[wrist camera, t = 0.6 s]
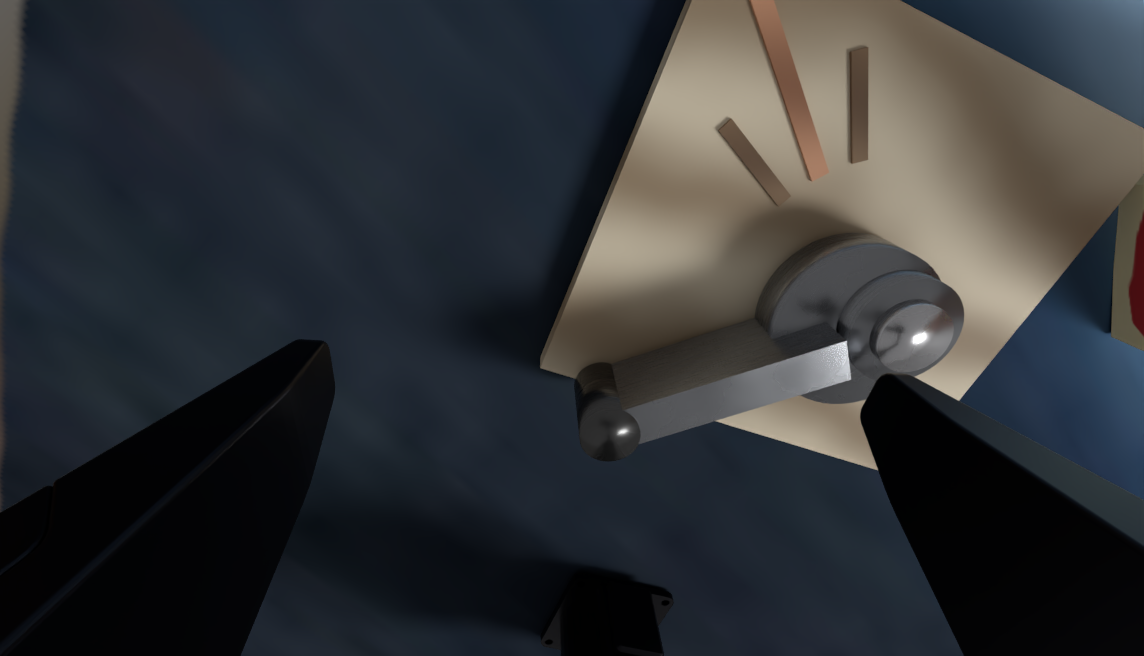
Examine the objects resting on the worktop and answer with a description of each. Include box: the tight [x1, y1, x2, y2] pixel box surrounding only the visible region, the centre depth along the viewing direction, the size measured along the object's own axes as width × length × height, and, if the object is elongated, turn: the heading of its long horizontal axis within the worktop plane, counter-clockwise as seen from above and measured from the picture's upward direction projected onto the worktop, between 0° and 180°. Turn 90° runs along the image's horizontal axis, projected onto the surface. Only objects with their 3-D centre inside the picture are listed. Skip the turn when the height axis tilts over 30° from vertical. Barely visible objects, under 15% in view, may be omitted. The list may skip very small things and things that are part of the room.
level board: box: [540, 0, 1144, 470], centre depth 23 cm, size 18×20×1 cm
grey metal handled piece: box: [574, 233, 964, 461], centre depth 22 cm, size 15×7×4 cm, turn 109°
